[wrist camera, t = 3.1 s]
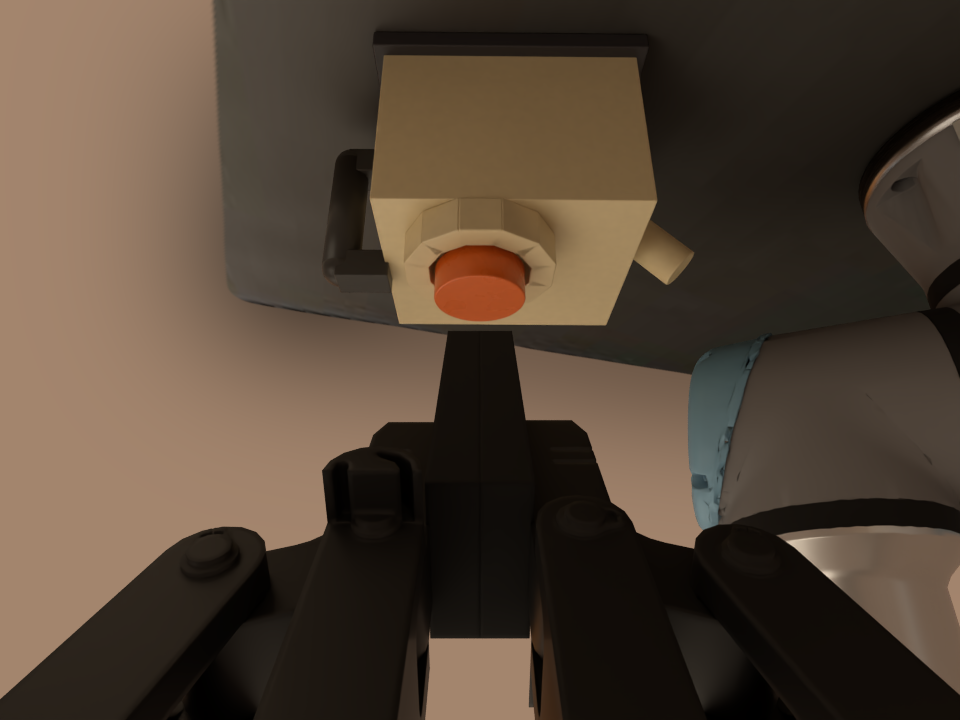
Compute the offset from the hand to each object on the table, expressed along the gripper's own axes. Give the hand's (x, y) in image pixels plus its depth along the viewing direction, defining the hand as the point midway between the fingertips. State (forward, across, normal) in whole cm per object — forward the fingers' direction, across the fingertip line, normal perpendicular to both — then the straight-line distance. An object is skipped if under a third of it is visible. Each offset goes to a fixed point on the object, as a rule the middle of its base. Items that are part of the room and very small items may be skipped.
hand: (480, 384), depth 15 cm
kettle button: (+16, 0, +1) cm, 16 cm away
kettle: (+26, -2, -6) cm, 27 cm away
